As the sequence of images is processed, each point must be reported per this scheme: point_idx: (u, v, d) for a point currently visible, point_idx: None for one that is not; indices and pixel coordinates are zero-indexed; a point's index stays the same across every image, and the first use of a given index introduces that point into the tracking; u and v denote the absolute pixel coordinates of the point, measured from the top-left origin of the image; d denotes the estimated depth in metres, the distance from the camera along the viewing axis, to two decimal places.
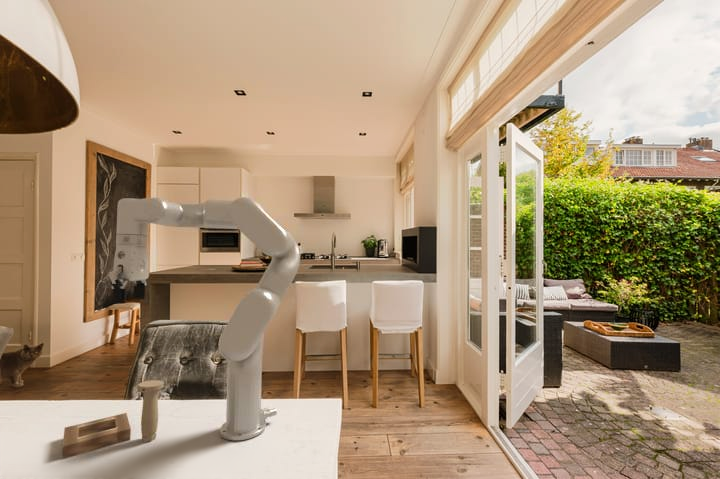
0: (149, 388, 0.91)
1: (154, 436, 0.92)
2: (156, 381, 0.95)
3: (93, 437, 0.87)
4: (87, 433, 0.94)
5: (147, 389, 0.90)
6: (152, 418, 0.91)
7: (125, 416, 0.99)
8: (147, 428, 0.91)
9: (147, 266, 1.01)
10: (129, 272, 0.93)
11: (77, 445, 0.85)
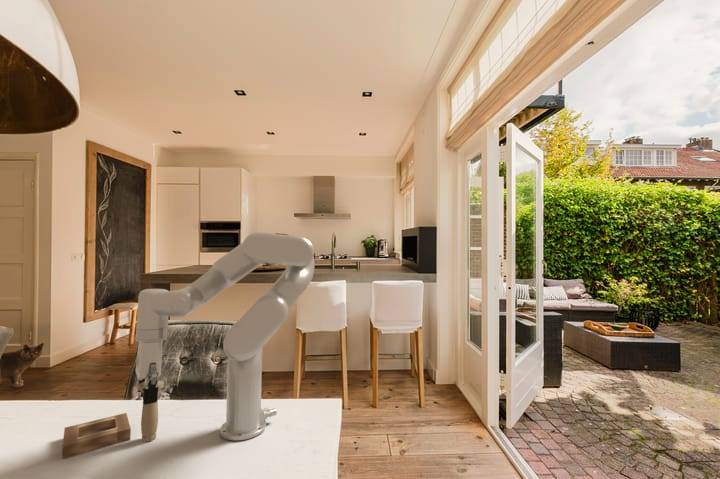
0: None
1: (154, 436, 0.92)
2: None
3: (93, 437, 0.87)
4: (87, 433, 0.94)
5: None
6: (152, 418, 0.91)
7: (125, 416, 0.99)
8: (147, 428, 0.91)
9: (140, 365, 0.89)
10: None
11: (77, 445, 0.85)
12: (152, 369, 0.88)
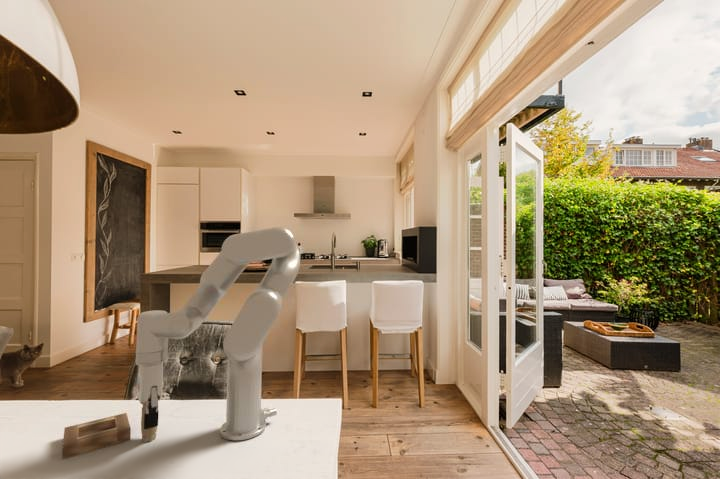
0: None
1: (154, 436, 0.92)
2: None
3: (93, 437, 0.87)
4: (87, 433, 0.94)
5: None
6: None
7: (125, 416, 0.99)
8: None
9: (141, 389, 0.89)
10: None
11: (77, 445, 0.85)
12: (152, 397, 0.88)
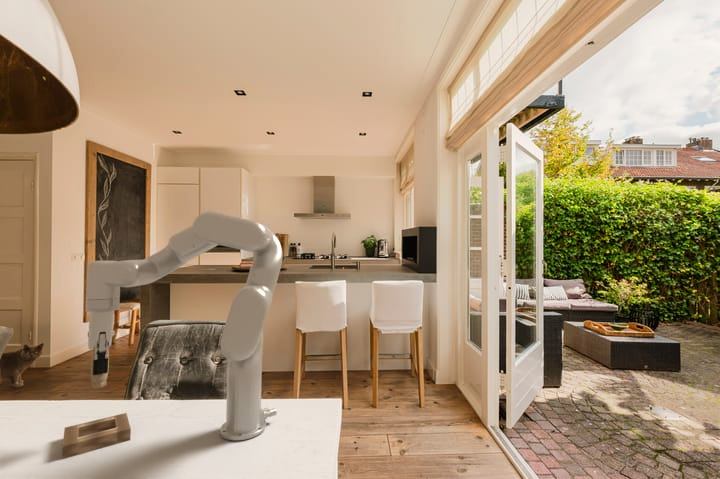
0: None
1: (104, 383, 0.93)
2: None
3: (93, 437, 0.87)
4: (87, 433, 0.94)
5: None
6: None
7: (125, 416, 0.99)
8: None
9: (89, 334, 0.89)
10: None
11: (77, 445, 0.85)
12: (100, 342, 0.89)
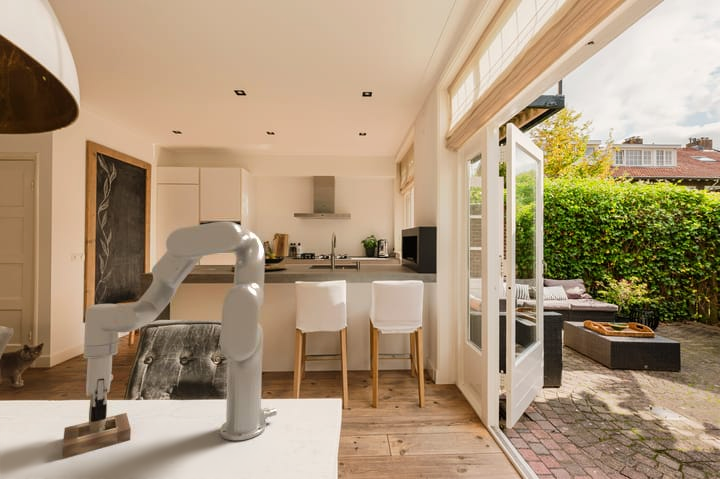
0: None
1: (102, 429, 0.92)
2: None
3: (93, 437, 0.87)
4: (87, 433, 0.94)
5: None
6: None
7: (125, 416, 0.99)
8: None
9: (87, 382, 0.89)
10: None
11: (77, 445, 0.85)
12: (99, 390, 0.88)
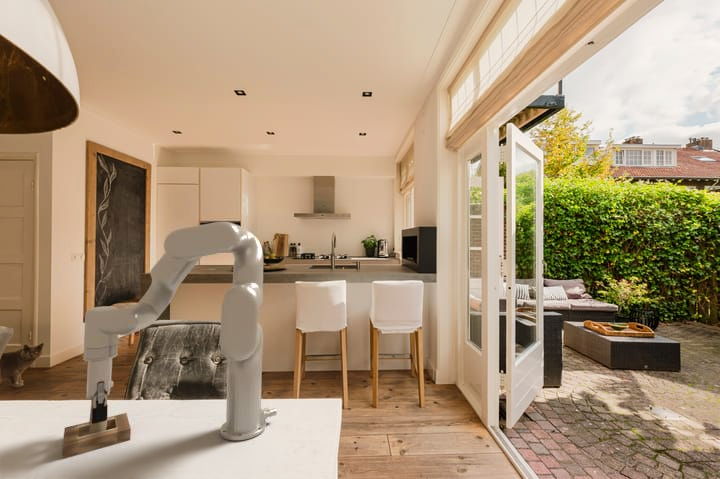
0: (97, 387, 0.91)
1: None
2: None
3: (93, 437, 0.87)
4: (87, 433, 0.94)
5: None
6: None
7: (125, 416, 0.99)
8: (95, 428, 0.91)
9: (87, 384, 0.89)
10: None
11: (77, 445, 0.85)
12: (99, 388, 0.88)
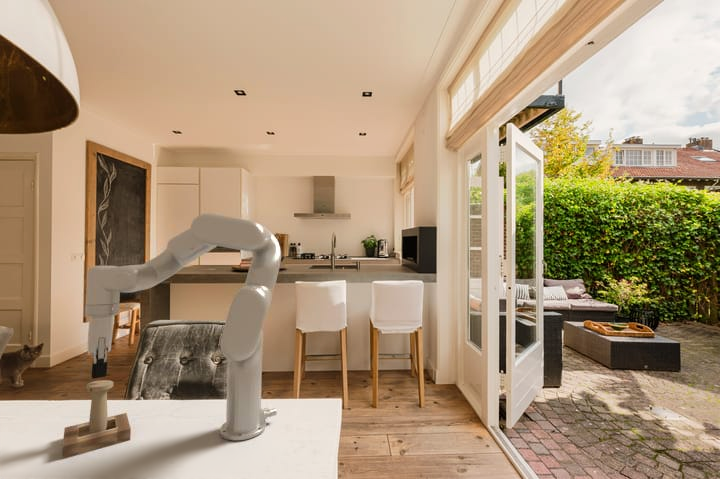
0: (97, 388, 0.91)
1: None
2: (105, 381, 0.95)
3: (93, 437, 0.87)
4: (87, 433, 0.94)
5: (95, 389, 0.90)
6: (100, 418, 0.91)
7: (125, 416, 0.99)
8: (95, 428, 0.91)
9: (89, 340, 0.89)
10: None
11: (77, 445, 0.85)
12: (100, 350, 0.89)
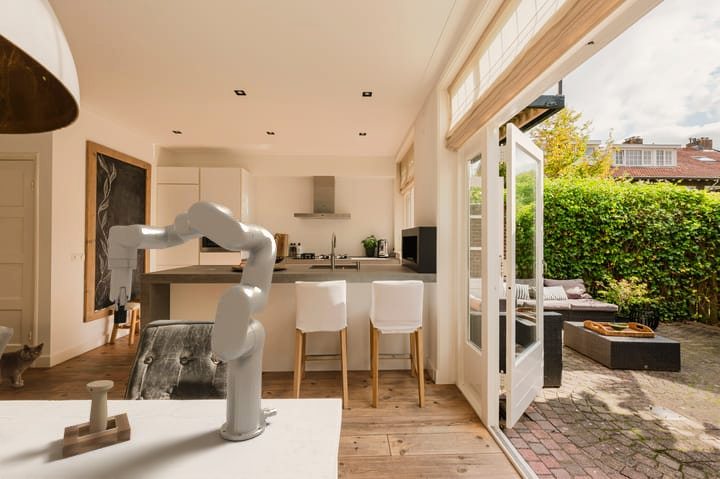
0: (97, 388, 0.91)
1: None
2: (106, 381, 0.95)
3: (93, 437, 0.87)
4: (87, 433, 0.94)
5: (95, 389, 0.90)
6: (100, 418, 0.91)
7: (125, 416, 0.99)
8: (95, 428, 0.91)
9: (111, 289, 1.02)
10: None
11: (77, 445, 0.85)
12: (121, 297, 1.03)
